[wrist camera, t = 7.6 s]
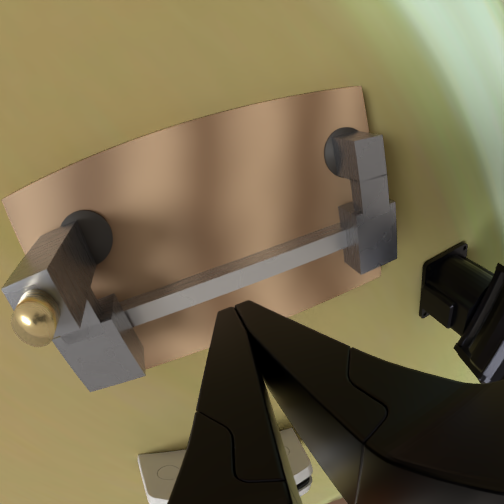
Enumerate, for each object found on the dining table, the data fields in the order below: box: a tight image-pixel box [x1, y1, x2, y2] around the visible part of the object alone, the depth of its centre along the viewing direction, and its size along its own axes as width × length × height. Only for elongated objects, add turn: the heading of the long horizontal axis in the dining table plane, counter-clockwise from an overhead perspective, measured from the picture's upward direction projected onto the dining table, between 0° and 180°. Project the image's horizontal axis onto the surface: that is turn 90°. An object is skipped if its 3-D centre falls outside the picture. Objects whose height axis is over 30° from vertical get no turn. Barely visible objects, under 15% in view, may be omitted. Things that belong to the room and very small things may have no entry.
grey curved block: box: [138, 428, 313, 504], centre depth 25 cm, size 17×5×10 cm, turn 88°
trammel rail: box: [119, 131, 397, 327], centre depth 17 cm, size 20×8×3 cm, turn 103°
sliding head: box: [2, 220, 146, 392], centre depth 14 cm, size 4×8×7 cm, turn 13°
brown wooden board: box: [2, 86, 381, 369], centre depth 19 cm, size 22×14×1 cm, turn 103°
